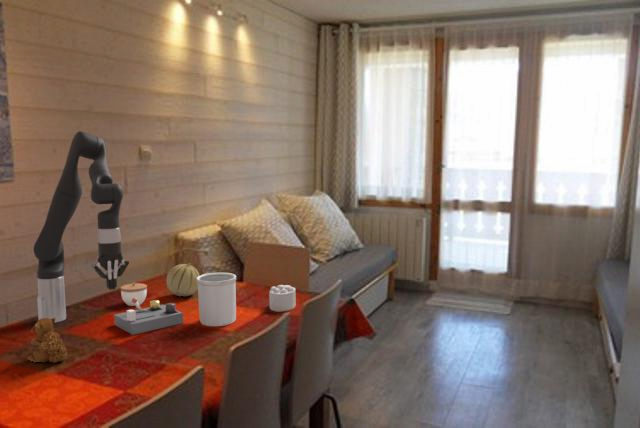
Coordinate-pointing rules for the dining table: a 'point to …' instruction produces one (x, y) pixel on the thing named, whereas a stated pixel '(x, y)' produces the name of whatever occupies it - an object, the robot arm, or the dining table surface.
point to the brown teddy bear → (47, 343)
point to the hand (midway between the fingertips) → (112, 289)
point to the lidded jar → (133, 293)
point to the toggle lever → (136, 304)
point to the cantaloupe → (182, 280)
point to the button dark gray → (170, 307)
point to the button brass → (154, 305)
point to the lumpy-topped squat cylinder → (282, 298)
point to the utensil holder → (217, 298)
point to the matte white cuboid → (131, 315)
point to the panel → (148, 320)
